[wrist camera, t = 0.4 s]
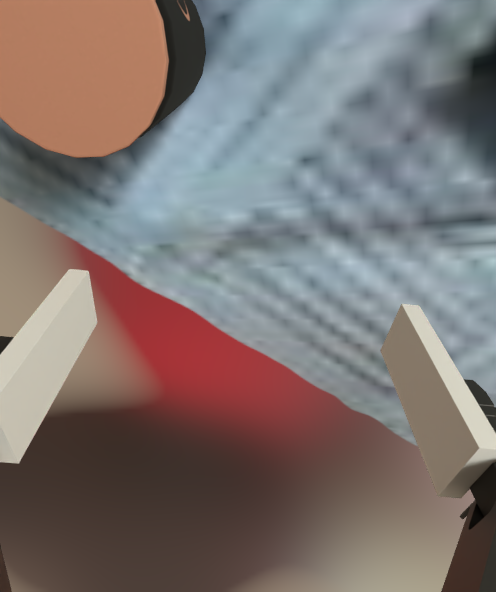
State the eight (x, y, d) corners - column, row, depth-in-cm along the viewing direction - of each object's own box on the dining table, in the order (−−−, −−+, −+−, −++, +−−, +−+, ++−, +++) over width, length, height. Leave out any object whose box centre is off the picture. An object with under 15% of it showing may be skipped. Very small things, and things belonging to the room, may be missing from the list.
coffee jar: (225, 6, 31) (197, -26, 16) (185, 129, 36) (136, 189, 22) (100, -66, 28) (-68, -181, 14) (78, 78, 34) (-58, 106, 19)
